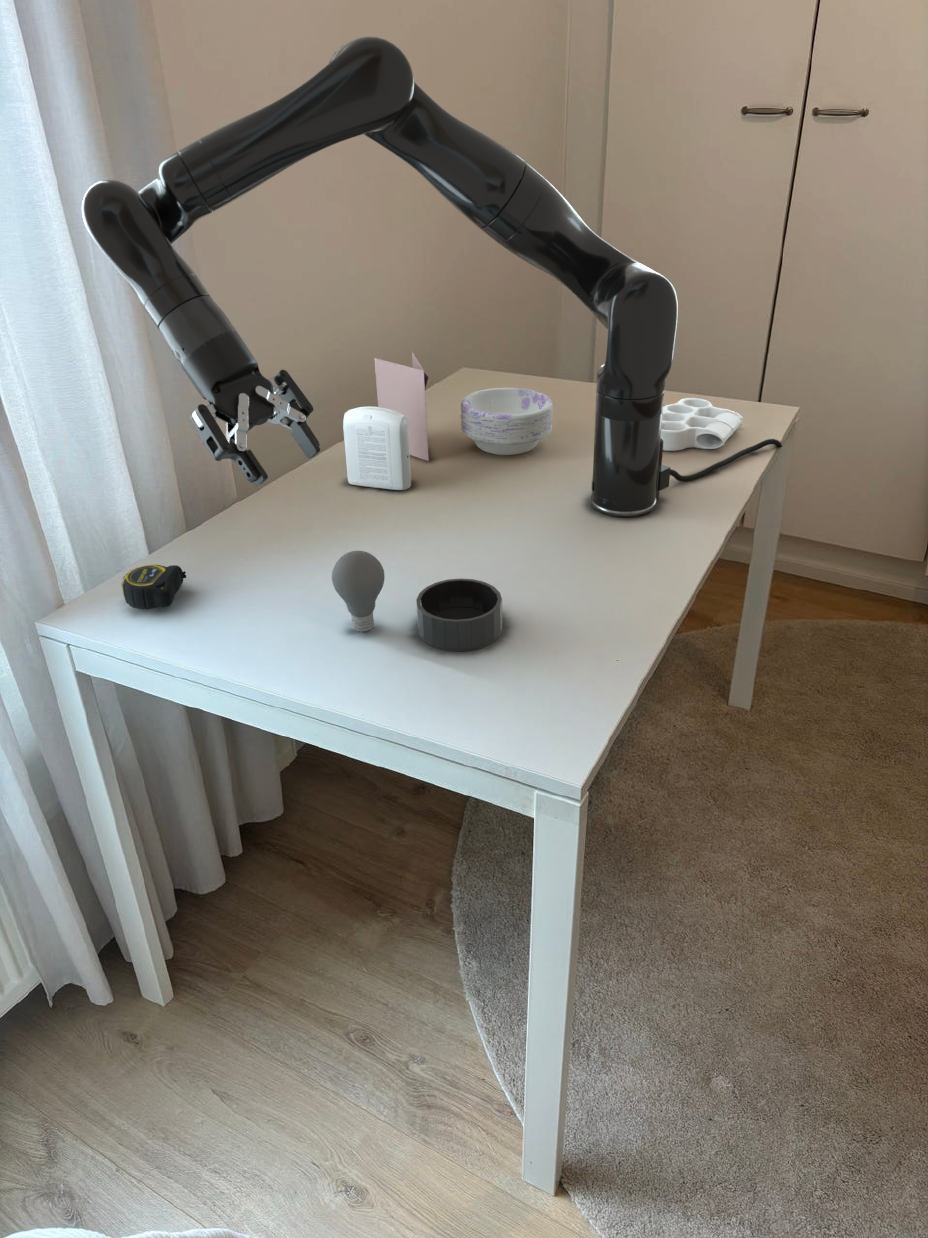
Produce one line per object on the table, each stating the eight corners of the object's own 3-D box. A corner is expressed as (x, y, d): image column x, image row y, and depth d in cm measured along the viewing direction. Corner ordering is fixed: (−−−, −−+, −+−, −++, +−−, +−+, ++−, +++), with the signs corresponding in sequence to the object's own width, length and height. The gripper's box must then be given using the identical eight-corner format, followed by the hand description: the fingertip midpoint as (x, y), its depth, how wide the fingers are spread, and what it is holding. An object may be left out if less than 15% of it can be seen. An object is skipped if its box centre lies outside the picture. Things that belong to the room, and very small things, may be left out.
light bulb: (381, 644, 109) (374, 568, 104) (331, 640, 110) (322, 564, 105) (394, 617, 114) (388, 543, 109) (346, 613, 115) (338, 539, 110)
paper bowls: (567, 438, 162) (568, 393, 158) (523, 469, 152) (524, 421, 147) (491, 424, 170) (490, 380, 165) (444, 452, 159) (442, 406, 155)
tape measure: (172, 615, 116) (167, 588, 114) (117, 615, 116) (111, 588, 114) (189, 587, 122) (183, 561, 120) (136, 587, 122) (130, 562, 120)
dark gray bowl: (462, 598, 117) (461, 570, 115) (519, 628, 111) (519, 598, 109) (401, 628, 112) (399, 599, 110) (457, 661, 106) (456, 631, 104)
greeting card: (433, 460, 156) (429, 370, 148) (389, 465, 155) (382, 374, 147) (421, 436, 166) (416, 350, 158) (379, 440, 164) (372, 354, 156)
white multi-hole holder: (715, 459, 153) (629, 445, 159) (746, 423, 166) (666, 411, 172) (718, 439, 151) (631, 425, 157) (749, 405, 164) (667, 393, 171)
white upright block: (415, 482, 149) (411, 405, 142) (406, 493, 145) (401, 415, 139) (355, 476, 151) (347, 400, 145) (344, 486, 148) (336, 409, 141)
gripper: (170, 349, 101) (258, 478, 102) (268, 313, 110) (347, 432, 112) (146, 383, 106) (230, 505, 108) (241, 346, 116) (316, 459, 117)
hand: (289, 468), depth 110 cm, fingers open, 8 cm apart
